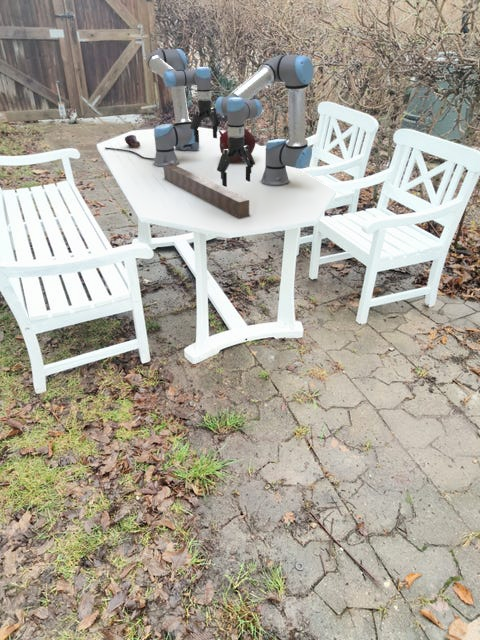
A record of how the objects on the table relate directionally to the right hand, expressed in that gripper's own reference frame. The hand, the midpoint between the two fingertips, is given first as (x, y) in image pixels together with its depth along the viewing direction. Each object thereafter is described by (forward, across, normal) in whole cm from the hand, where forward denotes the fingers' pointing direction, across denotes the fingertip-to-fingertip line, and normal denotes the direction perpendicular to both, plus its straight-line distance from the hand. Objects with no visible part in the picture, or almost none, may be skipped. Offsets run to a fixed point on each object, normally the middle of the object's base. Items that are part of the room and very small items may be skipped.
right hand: (236, 183), depth 213 cm
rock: (+14, +15, +154) cm, 155 cm away
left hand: (-7, +20, +59) cm, 62 cm away
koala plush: (+14, +44, +125) cm, 133 cm away
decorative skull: (+14, +56, +78) cm, 97 cm away
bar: (+15, 0, +32) cm, 35 cm away
